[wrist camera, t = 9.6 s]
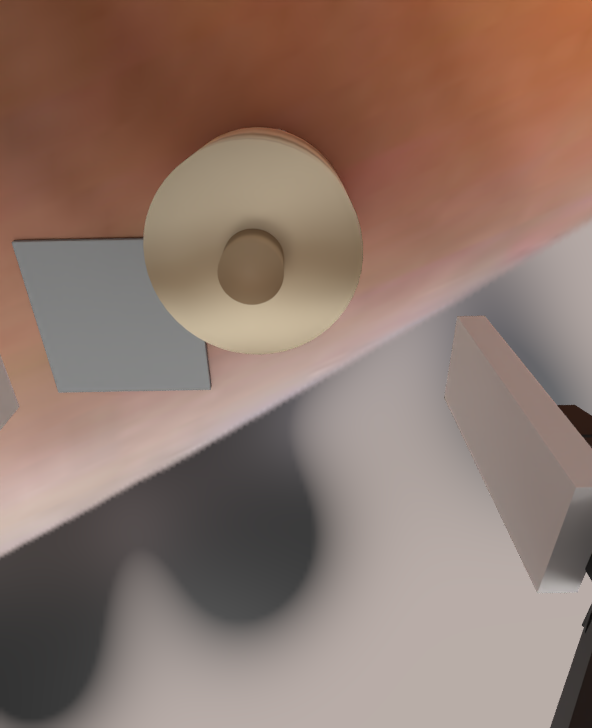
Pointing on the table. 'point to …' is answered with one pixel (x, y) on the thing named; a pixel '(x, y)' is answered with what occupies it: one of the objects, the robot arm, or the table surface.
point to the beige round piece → (254, 242)
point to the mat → (107, 318)
